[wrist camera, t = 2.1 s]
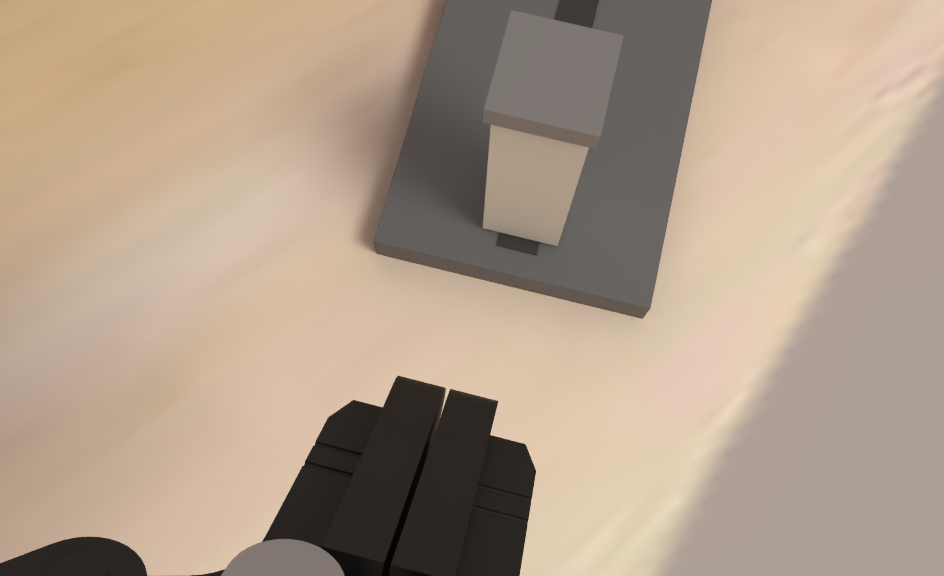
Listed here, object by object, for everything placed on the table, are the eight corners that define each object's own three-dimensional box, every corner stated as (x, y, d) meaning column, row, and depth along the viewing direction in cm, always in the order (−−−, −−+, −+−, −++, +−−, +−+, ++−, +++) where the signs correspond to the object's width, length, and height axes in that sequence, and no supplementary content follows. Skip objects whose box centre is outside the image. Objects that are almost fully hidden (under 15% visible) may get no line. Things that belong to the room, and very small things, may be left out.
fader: (476, 231, 35) (483, 109, 26) (497, 154, 36) (511, 9, 26) (561, 252, 35) (600, 136, 25) (579, 174, 36) (623, 35, 26)
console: (377, 253, 36) (369, 222, 33) (513, -200, 43) (518, -264, 40) (642, 318, 36) (661, 293, 32) (737, -152, 43) (761, -213, 39)
